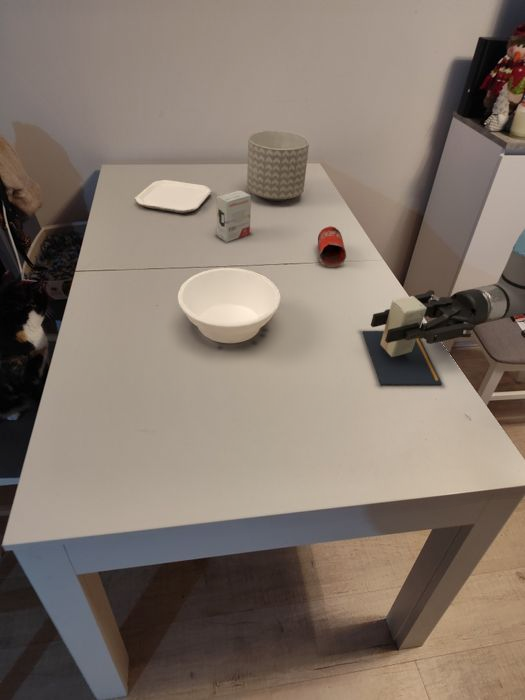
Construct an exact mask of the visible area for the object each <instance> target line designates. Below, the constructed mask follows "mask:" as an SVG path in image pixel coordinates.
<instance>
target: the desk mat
mask: <svg viewBox="0 0 525 700" xmlns="http://www.w3.org/2000/svg"><path fill="white" fill-rule="evenodd" d="M383 333H384V330H363V331H362V335H363V338H364V341H365V344H366V346H367V350H368V353H369V356H370V358H371V362H372V364H373V367H374V370H375V373H376V376H377V378H378V382H379V384H380V386H442V385H443V382H442V381H441V379H440V377H439V374H438V373H437V371H436V368H435V367H434V366H435V365H433V363H432V360H431V358H430V356H429V354H428V352H427V350H426V348H425V346H424V344H423V342H422V339H420V338H416V341H415V344H414V347H413V350H412V352H409V353H405V354H402V355H398V356H394V357H391V356H390V355H389V354H388V353H387V351H386V350H385V349H384V348H383V347H382V346H381V340H382V337H383Z"/></svg>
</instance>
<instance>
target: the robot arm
mask: <svg viewBox="0 0 525 700" xmlns="http://www.w3.org/2000/svg"><path fill="white" fill-rule="evenodd" d="M435 293H436V292H435V291H434V290H433V289H430V290H428V291H426V292H425V293H420V294H415V295H413V296H414V297H415V298H416V299H417V300H418V301H420V302H421V303H422V304H423V305H424V306H425V307H426V308H427V309H426V312H425V315H424V317H428V318H429V319H431V320H430V321H427V322H426V323H425V322H423V321H422V323H421V326H420V325H419V324H418V323H414V324H410V325H406V326H401V327H397V328H393V329H388V333H387V336H386V339H385V341H386V342H387V343H390V342H394V341H398V340H403V339H406V340H411V339H416V338H420V340H422V339H424V340H425V342H426V343H427V345H432V344H436V343H440V342H445V341H450V340H454V339H457V338H471V337H472V335H473V333H474V330H475V329H476V326H479V325H481V324H482V325H483V324H487V323H490V322H494V321H498V320H503V319H508V318H511V317H517V316H523V315H525V228H524V229H522V231H521V233H520V234H519V236H518V238H517V240H516V241H515V243H514V244H513V247H512V250H511V252H510V254H509V257H508V260H507V262H506V264H505V266H504V268H503V270H502V272H501V274H500V276H499V278H498V280H497V283H492V284H488V285H483V286H479V287H473V288H470V289H465V290H460V291H457V292H455V293H454V294H452V295H451V296H448V297H447V296H441V297H439V296H437V295H435ZM389 311H390V308H388V309H385V310H384V311H382V312H376V313H373V314H372V318H371V322H370V326H371V328H377V327H381V326H386V322H387V319H388V315H389ZM424 317H423V318H424ZM419 326H420V328H419Z"/></svg>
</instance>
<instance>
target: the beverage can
mask: <svg viewBox="0 0 525 700" xmlns="http://www.w3.org/2000/svg"><path fill="white" fill-rule="evenodd" d="M317 246H318V257H317V258H318V259H319V260H320V261H321V263H322V264H323V265H324V266H326V267H329V268H336V267H339V266H340V265H343V264H344V263H345V262H346V258H347V251H346V248H345V244H344V239H343V236H342V233H341V231H340V230H339V229H338V228H337V227H335V226H332V225H331V226H330V225H329V226H326V227H324V228H322V229H321V230H320V232H319V233H318V235H317Z"/></svg>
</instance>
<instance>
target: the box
mask: <svg viewBox="0 0 525 700" xmlns="http://www.w3.org/2000/svg"><path fill="white" fill-rule="evenodd" d="M414 296H415V295H411V296H406V297H402V298H398V299H394V300H392V301H391V305H390V307H389V309H390V311H389V315H388V319H387V322H386V324H385V325H384V330H383V331H384V333H383V337H382V340H381V346H382V347H383V348H384V349H385V350H386V351H387V353H388V354H389V355H390V356H391V357H394V356H398V355H402V354H405V353H409V352H412V350H413V347H414V344H415V341H416V339H411V340H406V339H403V340H398V341H394V342H390V343H387V342H386V341H385V339H386V336H387V333H388V329H393V328H397V327H401V326H406V325H410V324H414V323H418V324H419V325H420V326H419V328H420V327H421V325H422V322H423V320H424V315H425V312H426V309H427V308H426V307H425V306H424V305H423V304H422V303H421V302H420V301H418V300H417V299H416V298H415V297H414Z"/></svg>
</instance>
